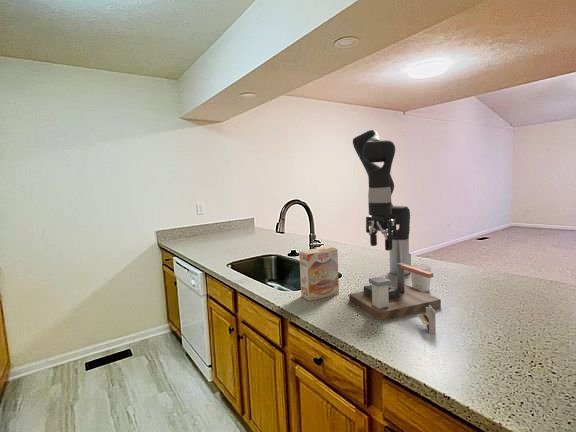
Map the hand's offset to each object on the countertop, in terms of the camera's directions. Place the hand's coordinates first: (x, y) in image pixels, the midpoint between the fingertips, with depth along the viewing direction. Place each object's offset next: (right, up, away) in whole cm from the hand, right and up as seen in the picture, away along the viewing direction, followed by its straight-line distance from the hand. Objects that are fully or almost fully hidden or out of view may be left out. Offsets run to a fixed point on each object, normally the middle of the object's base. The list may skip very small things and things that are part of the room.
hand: (381, 247), depth 113 cm
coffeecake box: (-18, -23, +25) cm, 39 cm away
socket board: (+8, -22, +11) cm, 26 cm away
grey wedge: (+12, -25, -10) cm, 30 cm away
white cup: (+24, -20, +25) cm, 40 cm away
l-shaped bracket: (+15, -19, +9) cm, 26 cm away
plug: (+1, -21, +3) cm, 21 cm away
